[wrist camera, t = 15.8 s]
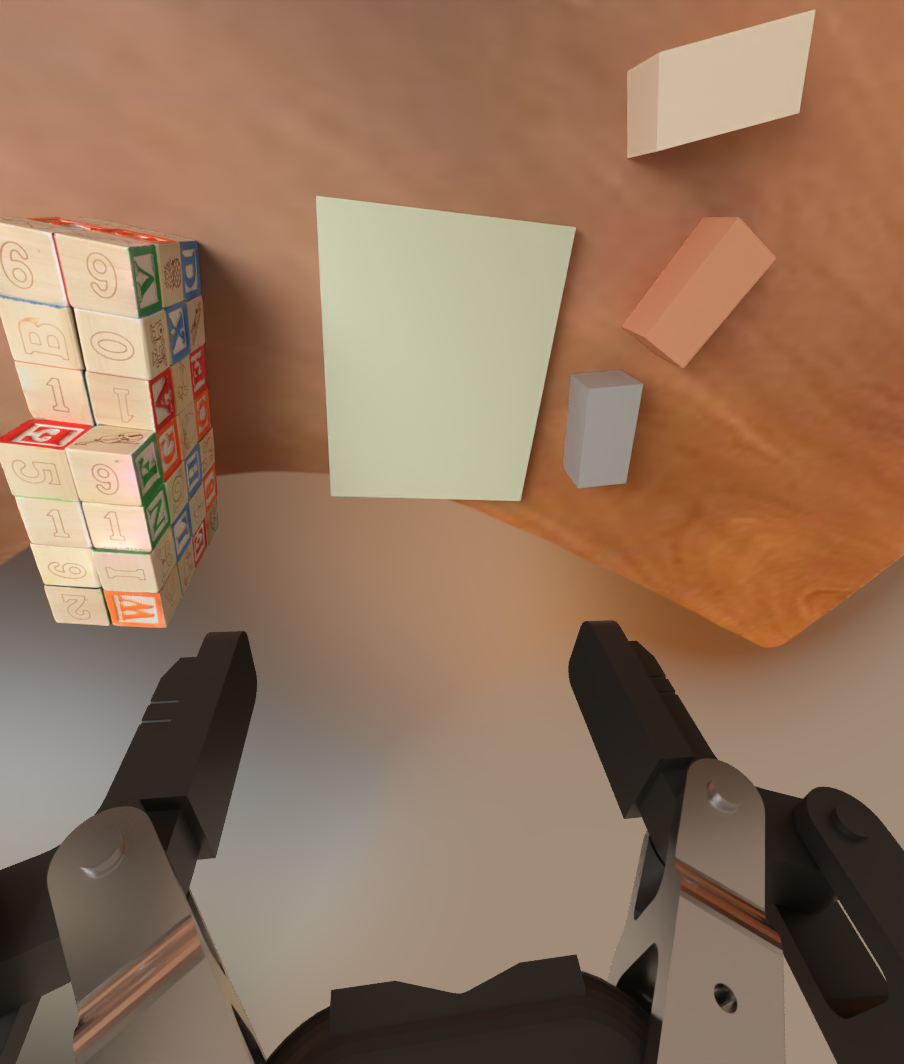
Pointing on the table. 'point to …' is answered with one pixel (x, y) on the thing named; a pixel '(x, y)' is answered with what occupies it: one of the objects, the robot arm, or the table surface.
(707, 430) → the table surface
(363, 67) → the table surface
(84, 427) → the stack of blocks
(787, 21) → the cream brick
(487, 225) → the sage baseplate
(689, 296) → the terracotta brick
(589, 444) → the slate brick
